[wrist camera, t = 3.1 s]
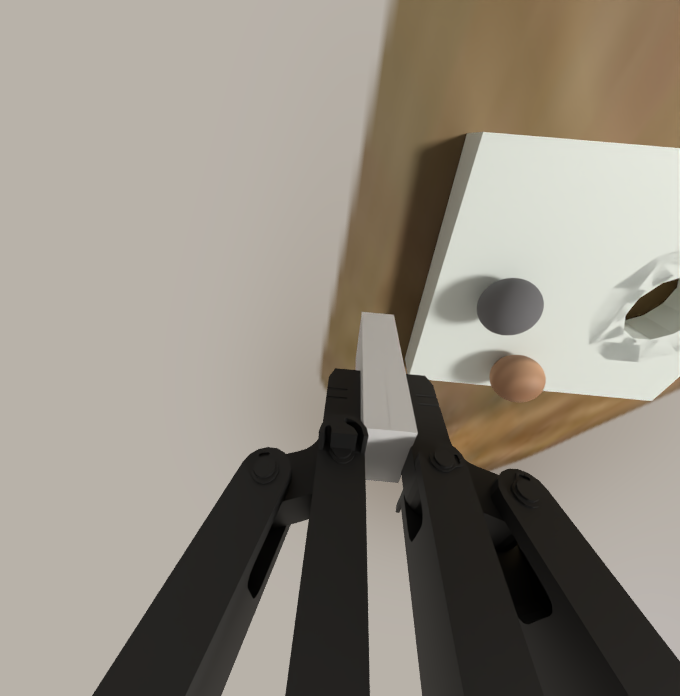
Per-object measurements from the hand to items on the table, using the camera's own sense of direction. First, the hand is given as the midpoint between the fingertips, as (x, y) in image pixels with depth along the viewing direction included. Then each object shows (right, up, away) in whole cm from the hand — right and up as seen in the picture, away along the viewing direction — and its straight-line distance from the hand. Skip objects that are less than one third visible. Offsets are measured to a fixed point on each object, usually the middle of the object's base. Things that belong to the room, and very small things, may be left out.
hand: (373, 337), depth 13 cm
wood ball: (+11, -3, +6) cm, 13 cm away
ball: (+8, +2, +3) cm, 9 cm away
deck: (+15, +4, +6) cm, 16 cm away
